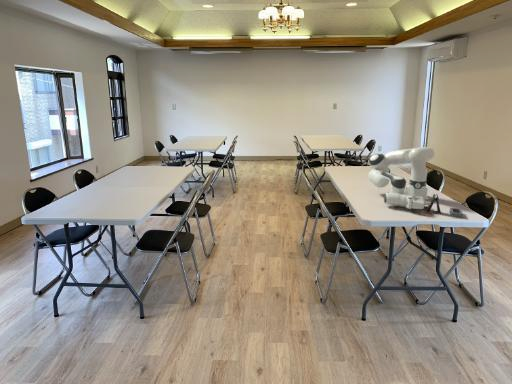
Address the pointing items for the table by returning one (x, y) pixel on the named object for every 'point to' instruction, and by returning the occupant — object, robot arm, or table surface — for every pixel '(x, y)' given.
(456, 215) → the pit tray
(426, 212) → the walled lane
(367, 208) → the table surface
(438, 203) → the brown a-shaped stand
